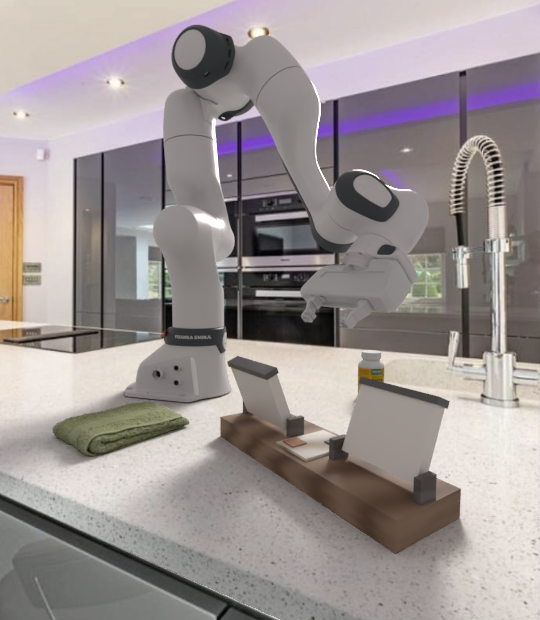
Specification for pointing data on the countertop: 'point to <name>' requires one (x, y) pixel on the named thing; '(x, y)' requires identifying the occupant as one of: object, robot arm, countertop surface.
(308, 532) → the countertop surface
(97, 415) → the washcloth
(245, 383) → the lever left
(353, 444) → the grey flat panel
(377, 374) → the supplement bottle
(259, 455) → the switch base
